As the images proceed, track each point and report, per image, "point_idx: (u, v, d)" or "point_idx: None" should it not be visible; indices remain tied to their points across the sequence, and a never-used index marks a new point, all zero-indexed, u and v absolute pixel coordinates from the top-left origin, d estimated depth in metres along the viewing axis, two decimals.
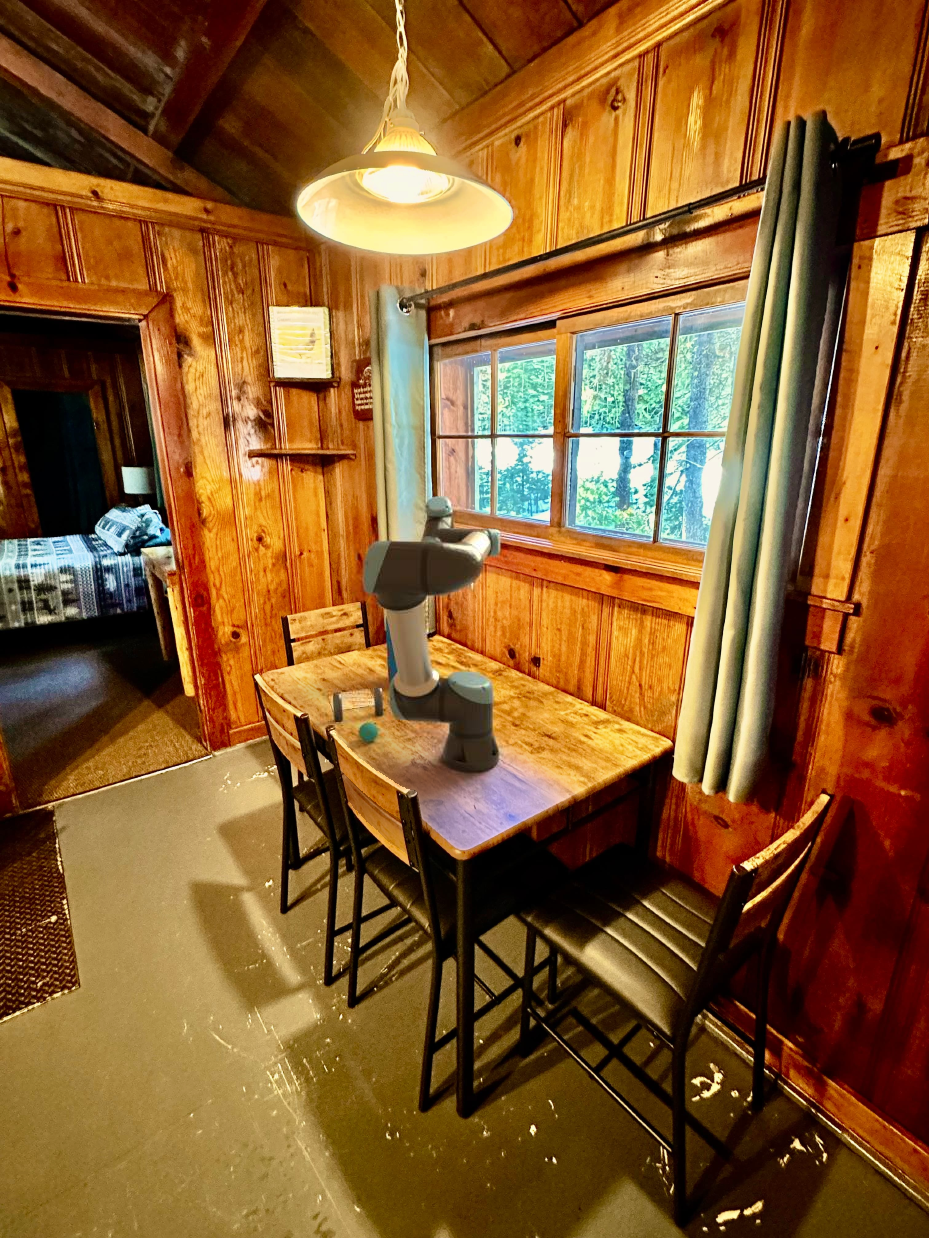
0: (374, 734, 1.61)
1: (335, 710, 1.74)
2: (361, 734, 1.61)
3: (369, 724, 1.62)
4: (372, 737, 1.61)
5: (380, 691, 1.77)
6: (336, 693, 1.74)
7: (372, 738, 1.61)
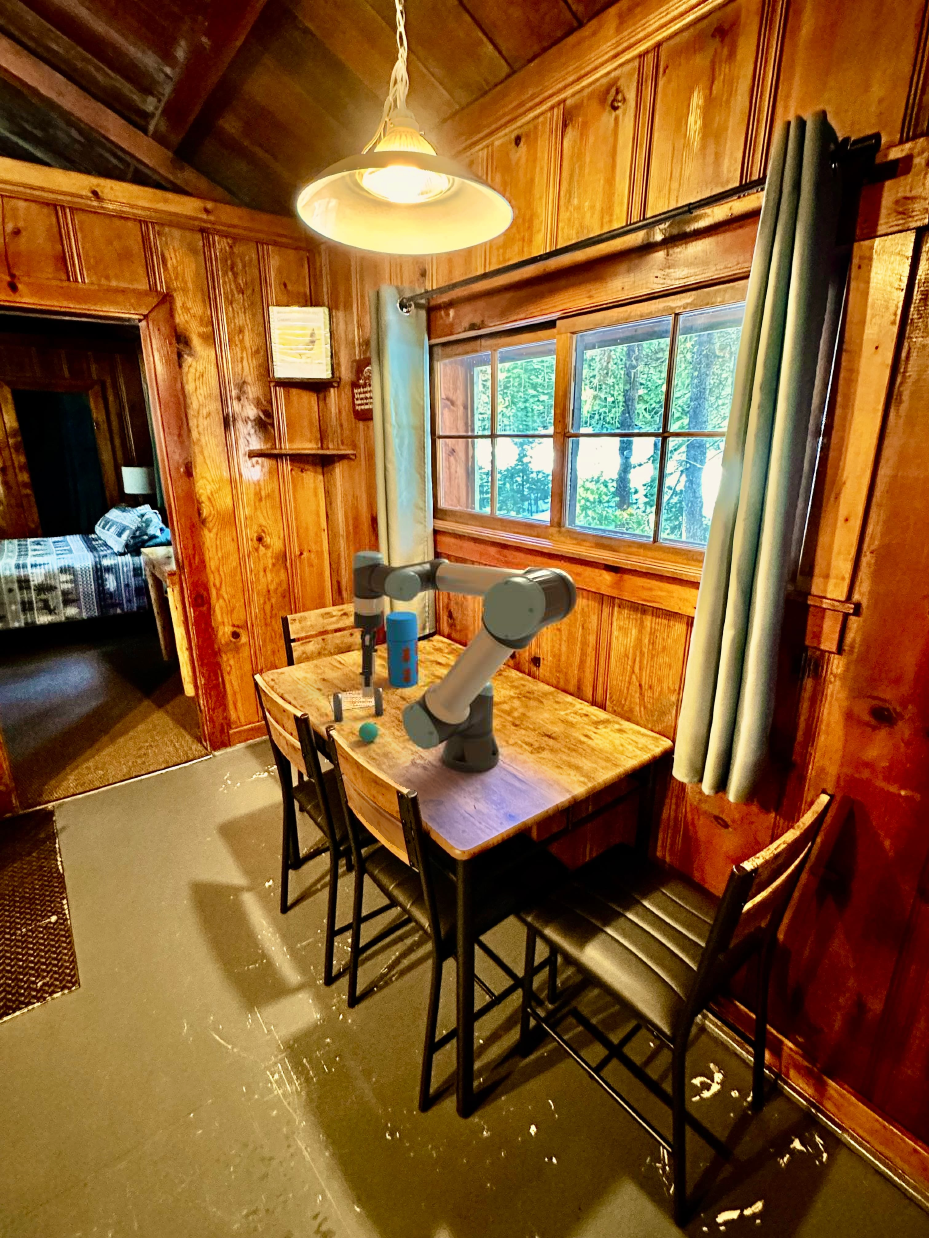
0: (374, 734, 1.61)
1: (335, 710, 1.74)
2: (361, 734, 1.61)
3: (369, 724, 1.62)
4: (372, 737, 1.61)
5: (380, 691, 1.77)
6: (336, 693, 1.74)
7: (372, 738, 1.61)
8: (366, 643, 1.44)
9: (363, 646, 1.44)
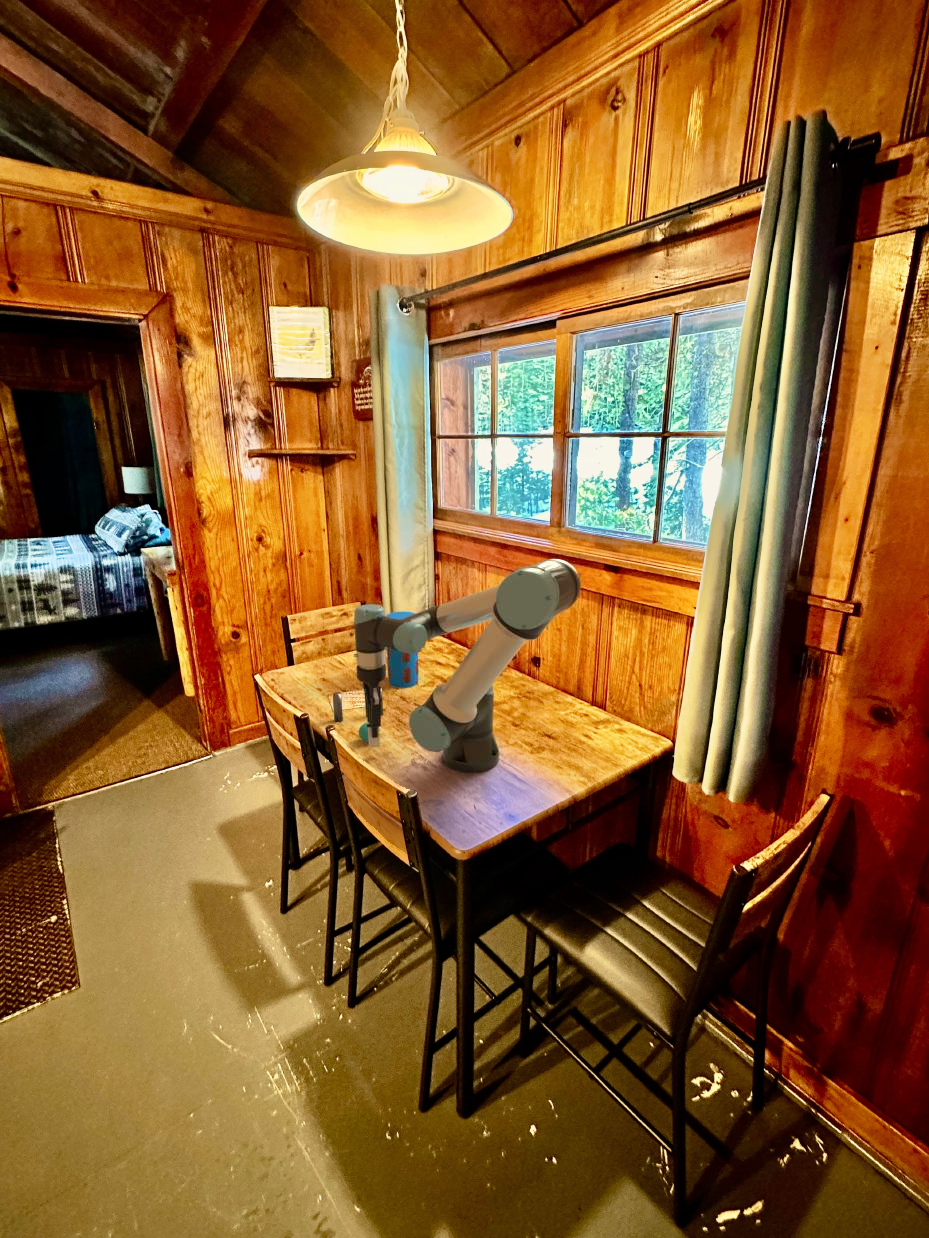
0: None
1: (335, 710, 1.74)
2: (361, 734, 1.61)
3: None
4: None
5: None
6: (336, 693, 1.74)
7: None
8: (376, 704, 1.45)
9: (372, 705, 1.45)
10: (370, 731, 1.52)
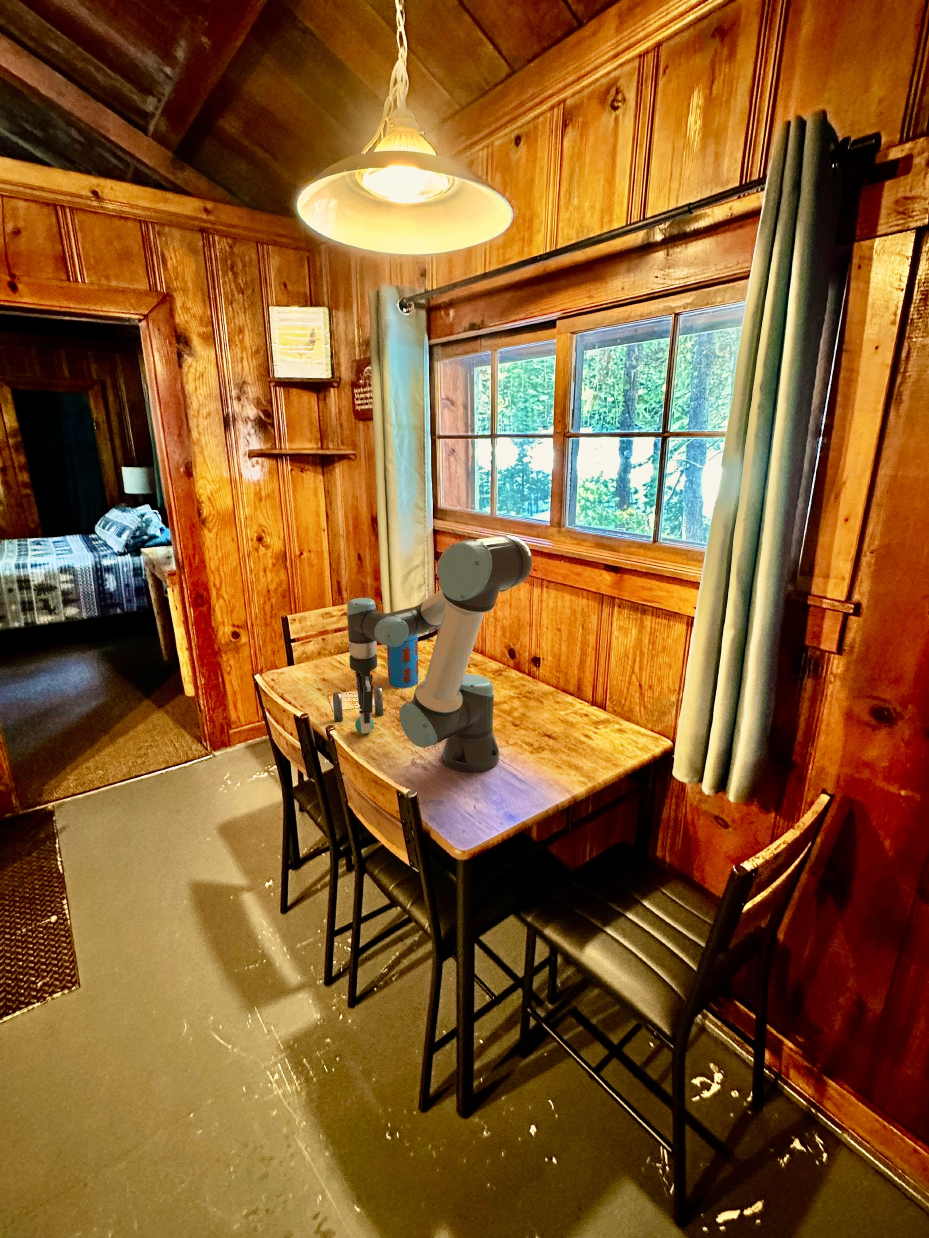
0: None
1: (335, 710, 1.74)
2: (356, 721, 1.67)
3: None
4: None
5: (380, 691, 1.77)
6: (336, 693, 1.74)
7: None
8: (368, 691, 1.55)
9: (364, 693, 1.55)
10: (362, 717, 1.62)
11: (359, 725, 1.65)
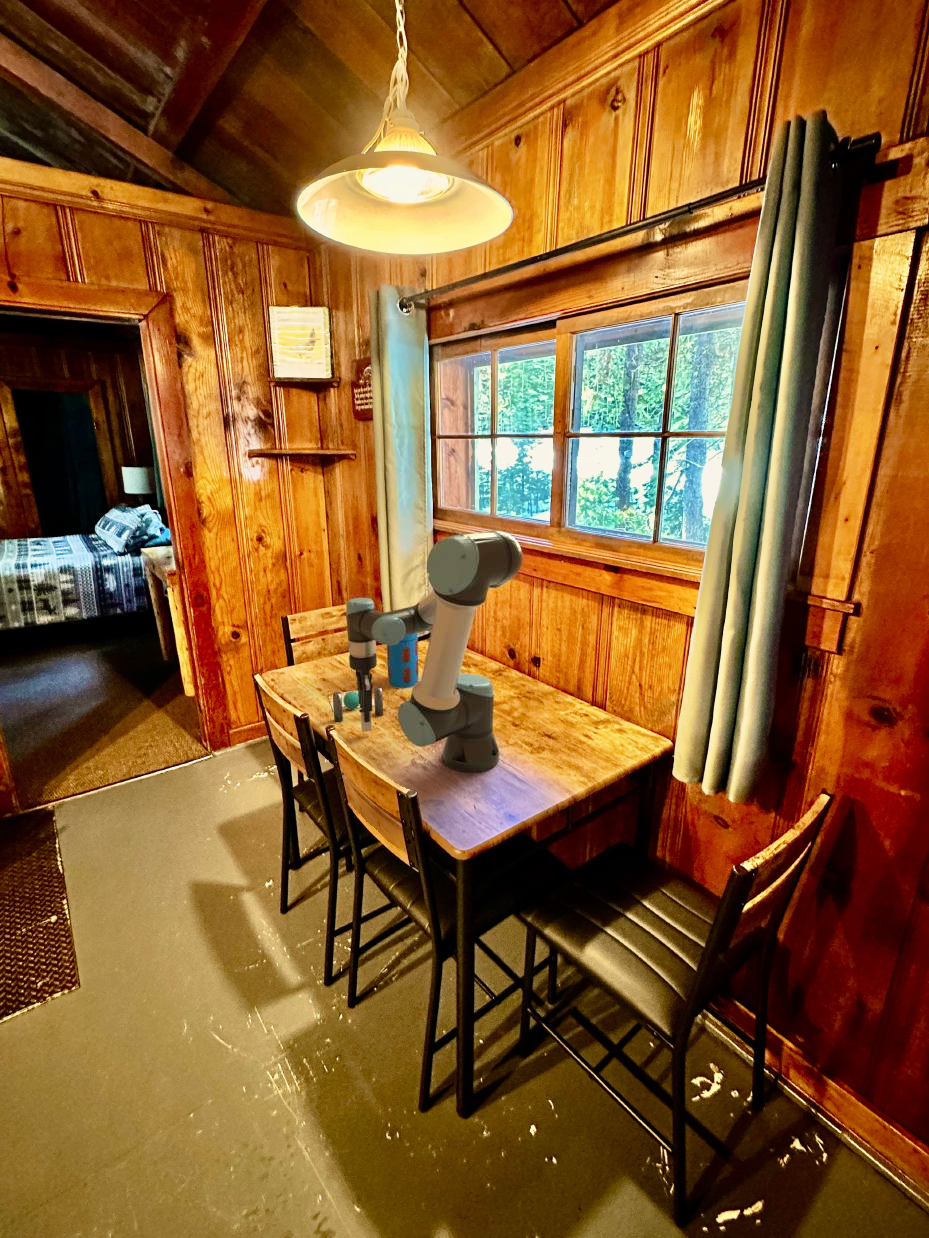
0: None
1: (335, 710, 1.74)
2: (344, 697, 1.84)
3: None
4: None
5: (380, 691, 1.77)
6: (336, 693, 1.74)
7: None
8: (367, 689, 1.57)
9: (364, 691, 1.57)
10: (362, 716, 1.64)
11: (346, 697, 1.82)
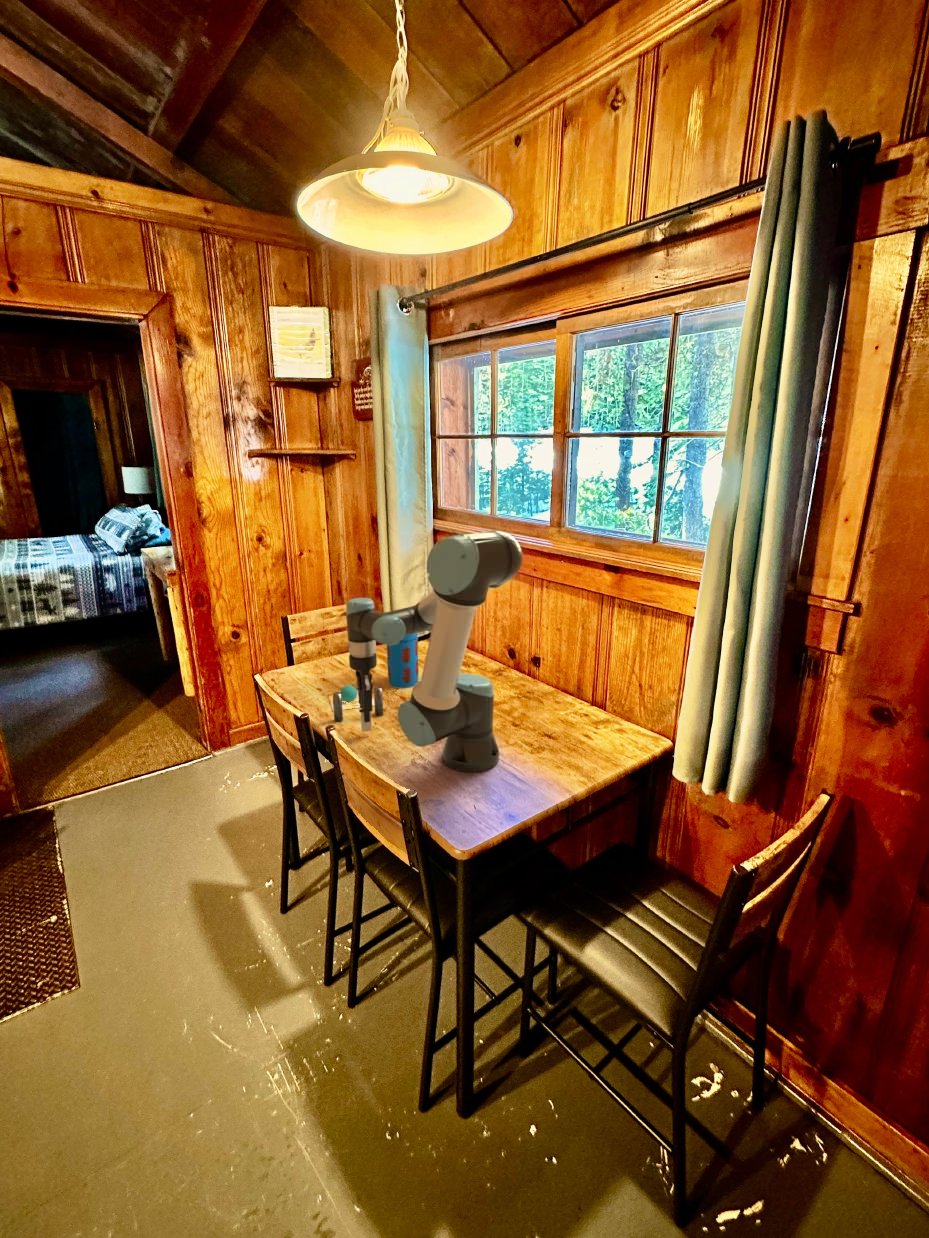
0: None
1: (335, 710, 1.74)
2: None
3: (351, 700, 1.88)
4: None
5: (380, 691, 1.77)
6: (336, 693, 1.74)
7: None
8: (367, 689, 1.57)
9: (364, 691, 1.57)
10: (362, 716, 1.64)
11: None
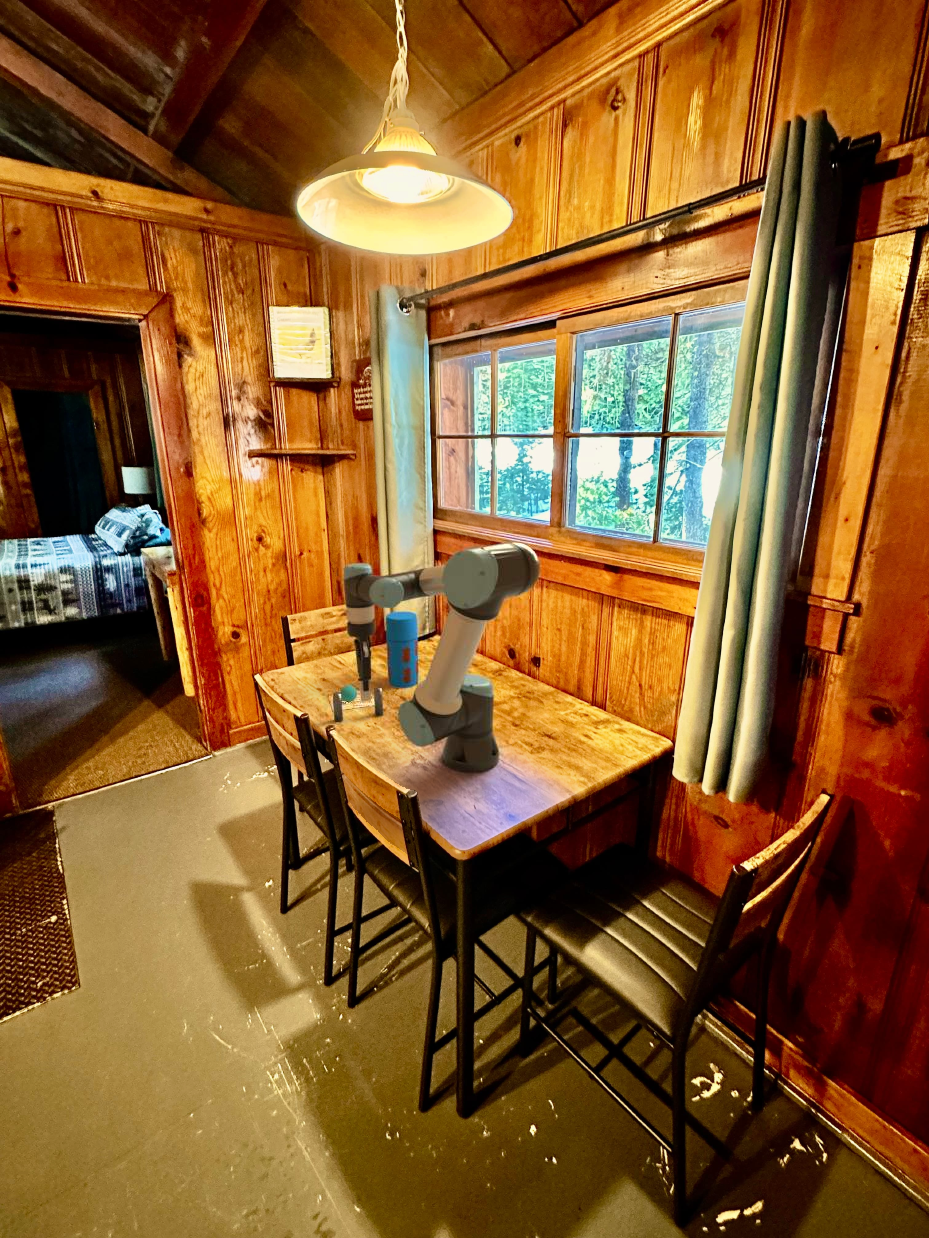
0: None
1: (335, 710, 1.74)
2: None
3: (351, 700, 1.88)
4: None
5: (380, 691, 1.77)
6: (336, 693, 1.74)
7: None
8: (365, 656, 1.54)
9: (362, 658, 1.54)
10: (361, 685, 1.61)
11: None
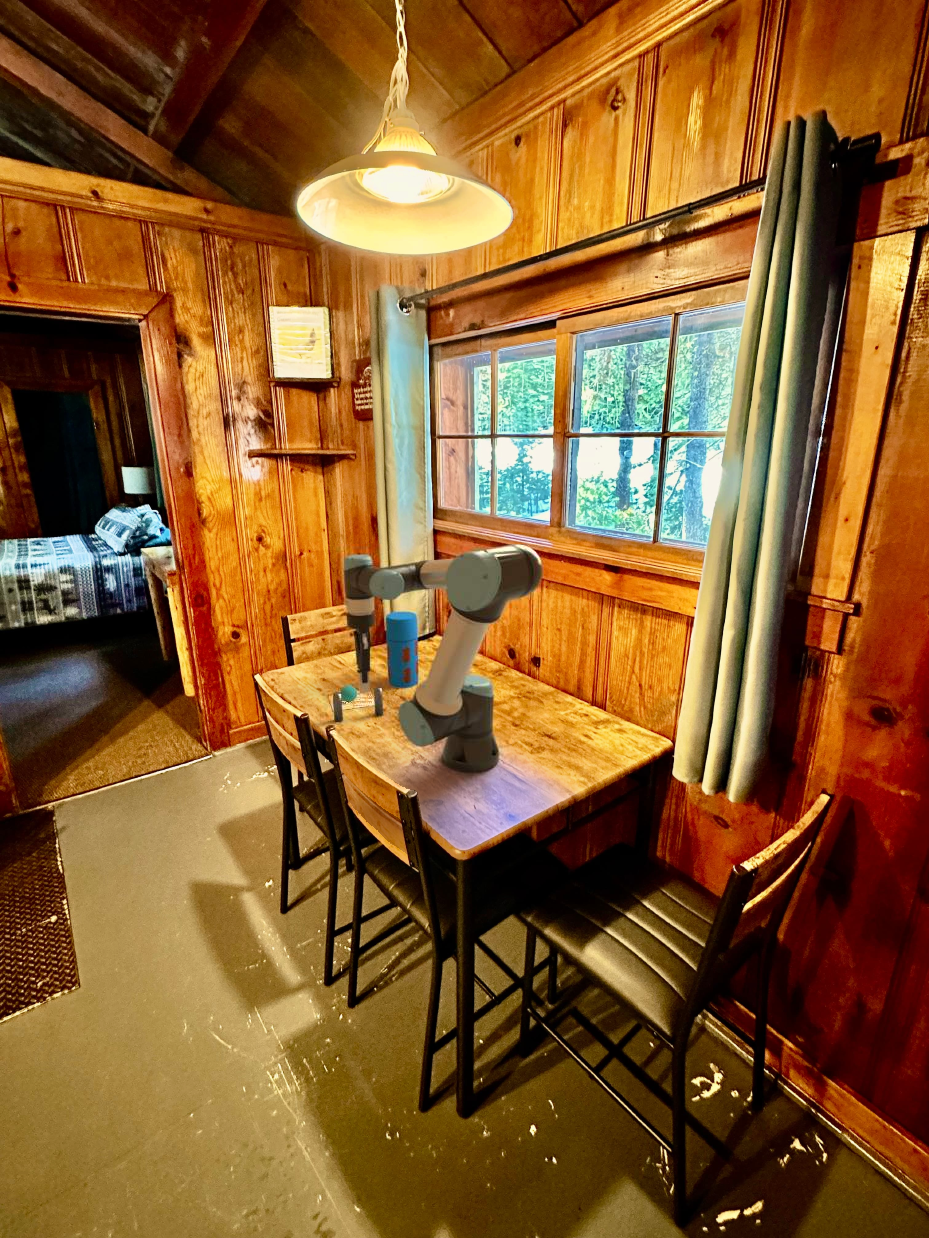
0: None
1: (335, 710, 1.74)
2: None
3: (351, 700, 1.88)
4: None
5: (380, 691, 1.77)
6: (336, 693, 1.74)
7: None
8: (365, 648, 1.53)
9: (362, 650, 1.53)
10: (360, 677, 1.60)
11: None
